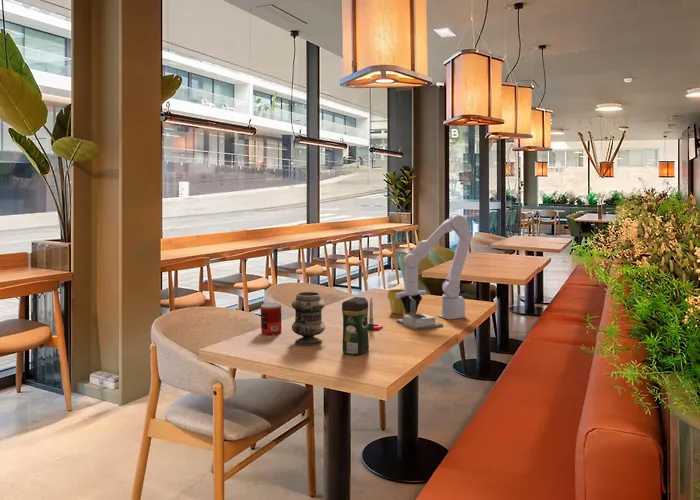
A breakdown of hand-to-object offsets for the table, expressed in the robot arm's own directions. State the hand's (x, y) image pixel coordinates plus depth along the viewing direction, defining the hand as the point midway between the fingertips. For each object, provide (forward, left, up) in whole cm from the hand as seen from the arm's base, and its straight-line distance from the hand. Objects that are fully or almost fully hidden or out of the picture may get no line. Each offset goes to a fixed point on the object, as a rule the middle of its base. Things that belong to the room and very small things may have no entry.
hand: (411, 312), depth 246 cm
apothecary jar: (+55, +16, -2) cm, 57 cm away
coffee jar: (+46, +35, -2) cm, 58 cm away
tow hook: (+24, +8, -2) cm, 25 cm away
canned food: (+62, -4, -2) cm, 62 cm away
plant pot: (-1, -11, -2) cm, 11 cm away
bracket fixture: (+4, +12, -2) cm, 13 cm away
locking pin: (0, 0, -2) cm, 2 cm away
